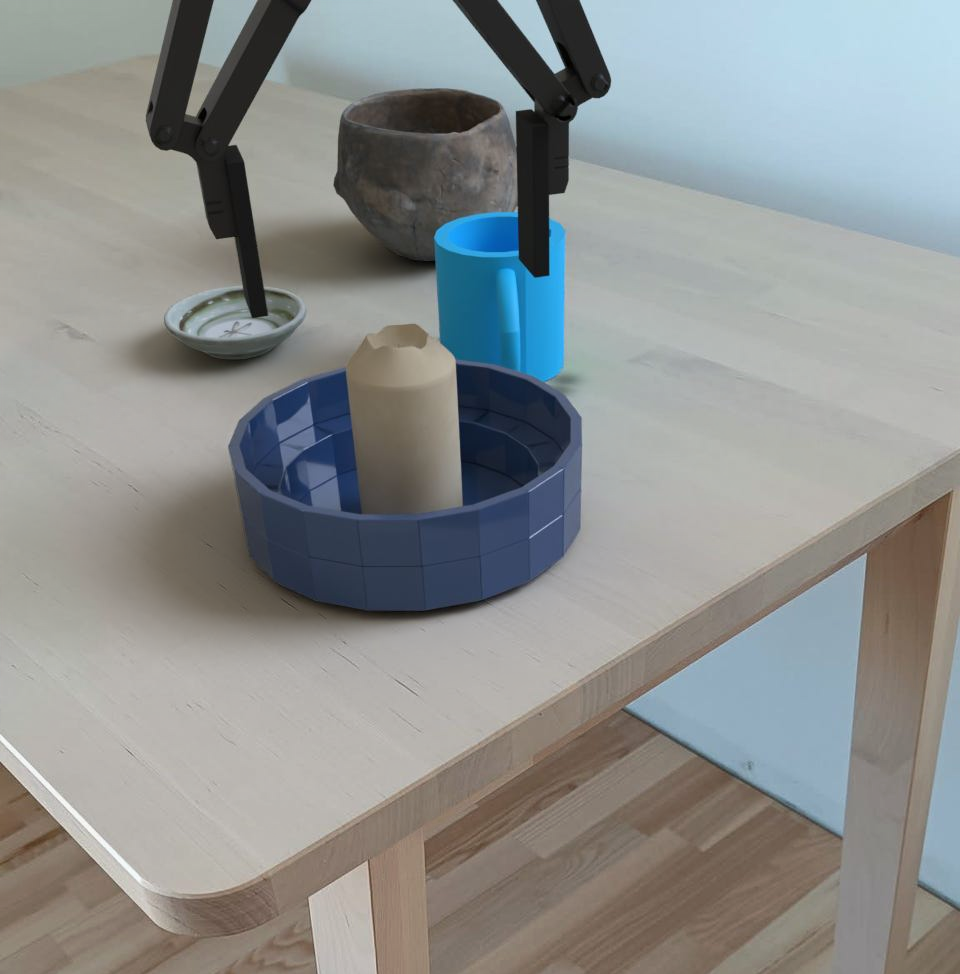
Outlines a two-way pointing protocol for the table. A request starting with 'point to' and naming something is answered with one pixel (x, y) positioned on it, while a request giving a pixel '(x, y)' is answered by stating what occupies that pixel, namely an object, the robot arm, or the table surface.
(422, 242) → the bowl
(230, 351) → the saucer
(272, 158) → the table surface
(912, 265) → the table surface
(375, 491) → the candle
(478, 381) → the serving bowl
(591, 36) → the robot arm
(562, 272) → the mug
